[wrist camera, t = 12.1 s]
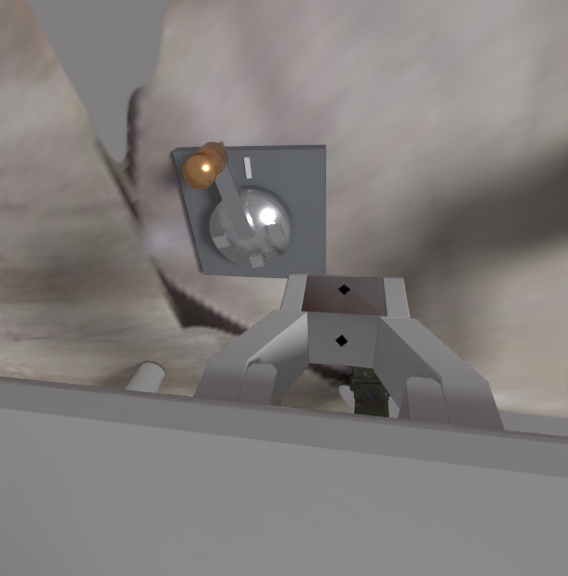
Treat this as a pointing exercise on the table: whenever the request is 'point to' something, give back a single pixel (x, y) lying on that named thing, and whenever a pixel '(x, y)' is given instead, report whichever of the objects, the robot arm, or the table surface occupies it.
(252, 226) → the lever
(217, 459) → the robot arm
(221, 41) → the table surface
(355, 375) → the mechanical leg
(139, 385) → the drinking glass
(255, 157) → the housing plate
